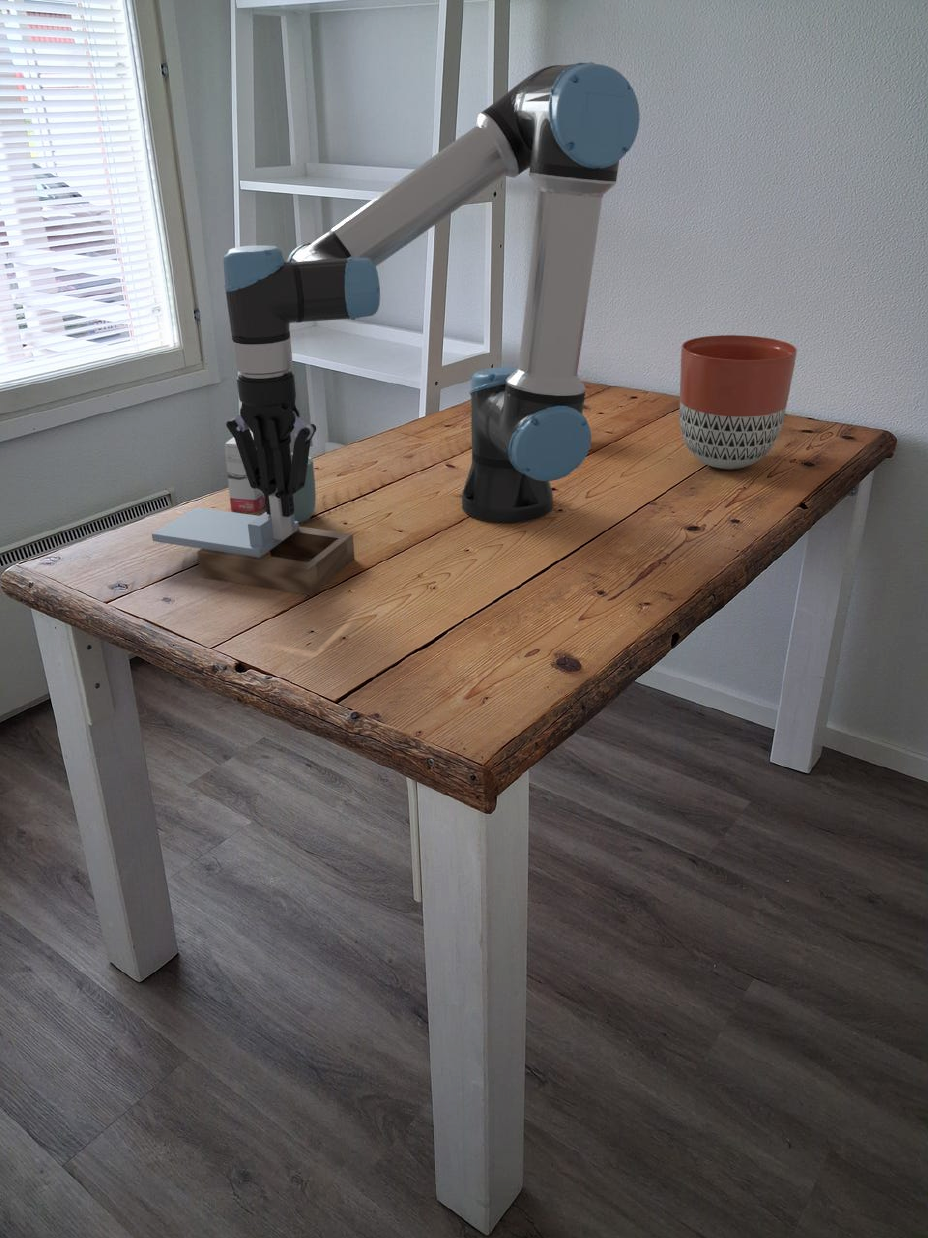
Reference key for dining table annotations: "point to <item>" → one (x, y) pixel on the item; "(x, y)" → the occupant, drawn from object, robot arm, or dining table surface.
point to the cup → (305, 496)
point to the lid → (222, 532)
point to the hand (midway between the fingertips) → (282, 535)
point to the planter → (733, 397)
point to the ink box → (241, 482)
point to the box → (285, 562)
